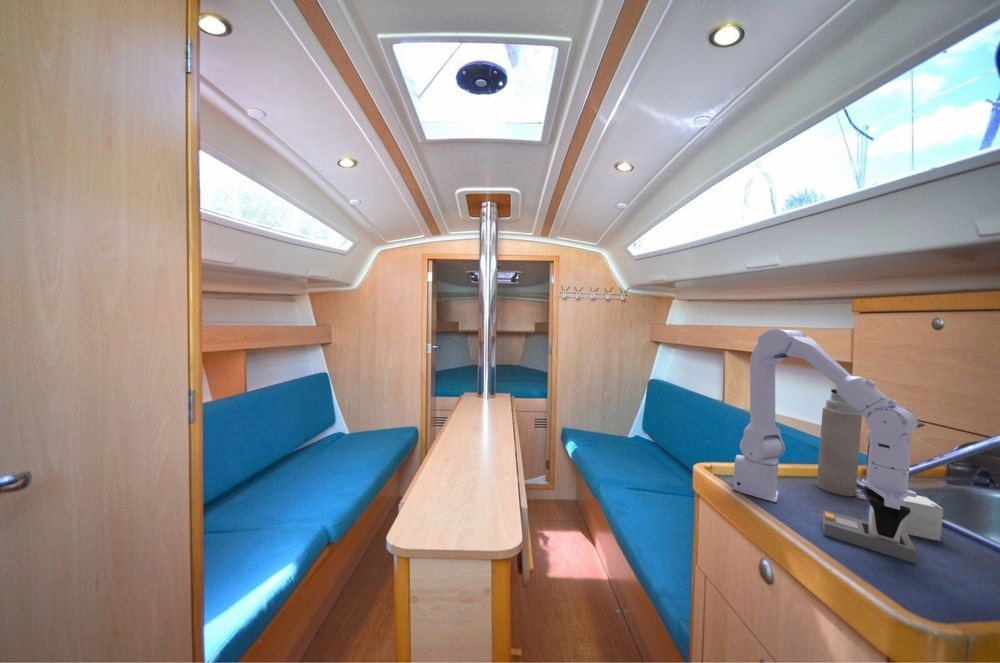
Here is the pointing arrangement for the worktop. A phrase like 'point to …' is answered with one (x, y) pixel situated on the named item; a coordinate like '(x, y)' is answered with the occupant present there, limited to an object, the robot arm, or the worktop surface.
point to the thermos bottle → (839, 446)
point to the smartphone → (861, 495)
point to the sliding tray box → (866, 536)
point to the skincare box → (922, 518)
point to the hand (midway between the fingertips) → (882, 529)
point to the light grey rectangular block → (873, 530)
